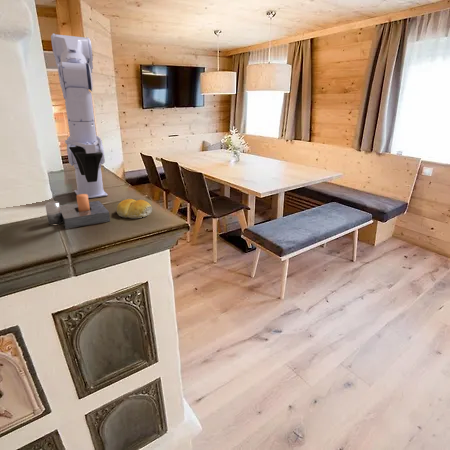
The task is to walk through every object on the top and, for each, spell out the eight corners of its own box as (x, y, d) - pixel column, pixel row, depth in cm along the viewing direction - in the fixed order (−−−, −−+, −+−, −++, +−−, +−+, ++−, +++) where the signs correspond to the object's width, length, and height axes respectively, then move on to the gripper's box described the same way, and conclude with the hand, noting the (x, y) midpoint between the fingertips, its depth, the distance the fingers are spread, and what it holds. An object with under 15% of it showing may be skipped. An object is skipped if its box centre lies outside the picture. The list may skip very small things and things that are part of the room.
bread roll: (127, 207, 87) (126, 193, 86) (156, 211, 85) (155, 197, 84) (109, 216, 80) (108, 202, 79) (140, 221, 78) (139, 206, 76)
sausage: (78, 217, 78) (74, 195, 76) (88, 215, 80) (85, 193, 77) (82, 220, 76) (78, 197, 74) (92, 218, 78) (89, 195, 76)
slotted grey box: (46, 217, 77) (42, 198, 75) (100, 209, 84) (98, 191, 82) (51, 231, 70) (47, 210, 68) (110, 221, 77) (108, 202, 75)
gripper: (57, 118, 75) (66, 173, 80) (67, 123, 64) (76, 187, 69) (88, 118, 78) (95, 170, 84) (102, 123, 67) (108, 183, 73)
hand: (88, 178), depth 77 cm, fingers open, 7 cm apart
